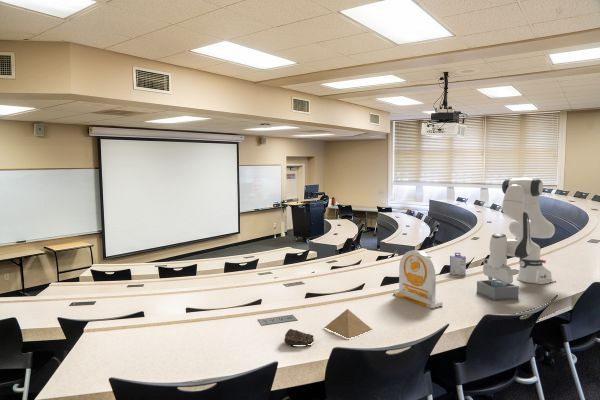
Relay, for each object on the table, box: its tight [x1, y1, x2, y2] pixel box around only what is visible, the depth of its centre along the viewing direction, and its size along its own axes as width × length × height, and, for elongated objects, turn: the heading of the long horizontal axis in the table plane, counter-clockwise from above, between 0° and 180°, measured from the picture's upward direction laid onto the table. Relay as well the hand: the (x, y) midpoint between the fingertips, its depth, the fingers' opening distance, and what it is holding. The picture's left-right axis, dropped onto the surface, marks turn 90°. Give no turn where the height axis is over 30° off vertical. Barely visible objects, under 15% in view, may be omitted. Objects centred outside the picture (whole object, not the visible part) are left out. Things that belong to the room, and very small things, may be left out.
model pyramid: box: [323, 308, 373, 338], centre depth 177 cm, size 17×17×10 cm
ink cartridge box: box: [449, 252, 467, 276], centre depth 271 cm, size 10×6×14 cm, turn 78°
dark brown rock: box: [283, 328, 315, 346], centre depth 163 cm, size 12×10×5 cm
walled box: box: [476, 279, 520, 302], centre depth 223 cm, size 15×15×7 cm
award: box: [393, 249, 444, 309], centre depth 216 cm, size 28×9×28 cm, turn 29°
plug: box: [492, 281, 503, 288], centre depth 223 cm, size 4×4×7 cm
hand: (497, 286), depth 223 cm, fingers open, 8 cm apart
